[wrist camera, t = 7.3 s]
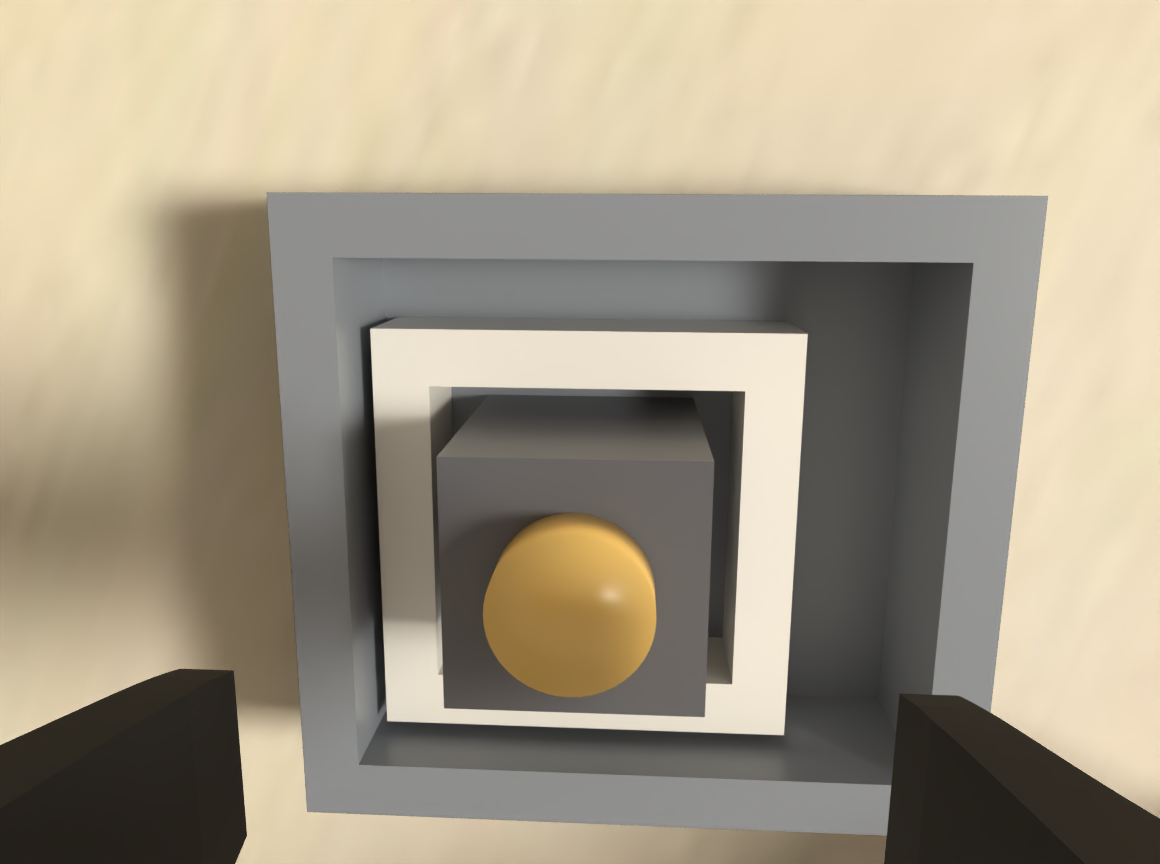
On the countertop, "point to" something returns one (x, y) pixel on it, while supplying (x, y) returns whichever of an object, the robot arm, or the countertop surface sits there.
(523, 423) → the plug
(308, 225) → the box
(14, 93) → the countertop surface
